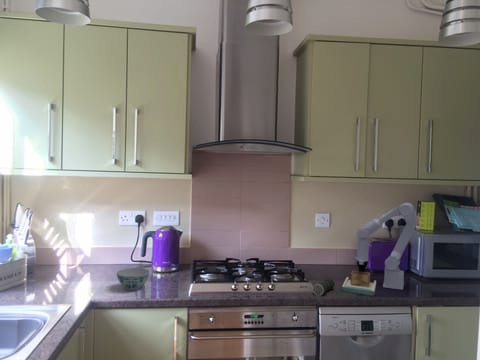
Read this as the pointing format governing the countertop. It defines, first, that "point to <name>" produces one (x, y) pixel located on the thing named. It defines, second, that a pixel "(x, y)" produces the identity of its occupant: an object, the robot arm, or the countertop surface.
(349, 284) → the tray
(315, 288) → the flashlight
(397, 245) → the robot arm
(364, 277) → the crate
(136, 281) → the chinaware
